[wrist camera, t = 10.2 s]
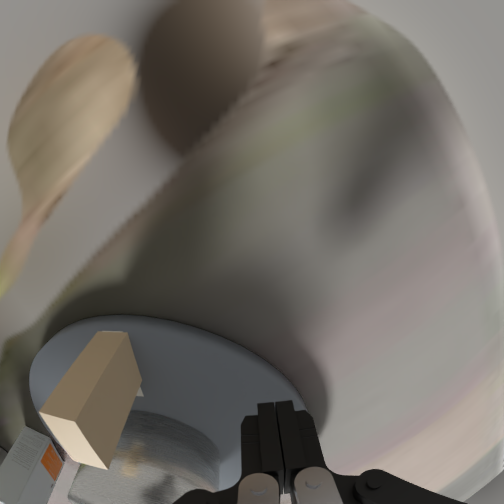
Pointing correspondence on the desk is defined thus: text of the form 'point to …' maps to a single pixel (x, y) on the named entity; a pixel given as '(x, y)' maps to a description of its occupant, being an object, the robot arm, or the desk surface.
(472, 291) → the desk surface
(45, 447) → the skincare box
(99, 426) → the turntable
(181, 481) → the cover
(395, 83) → the desk surface
